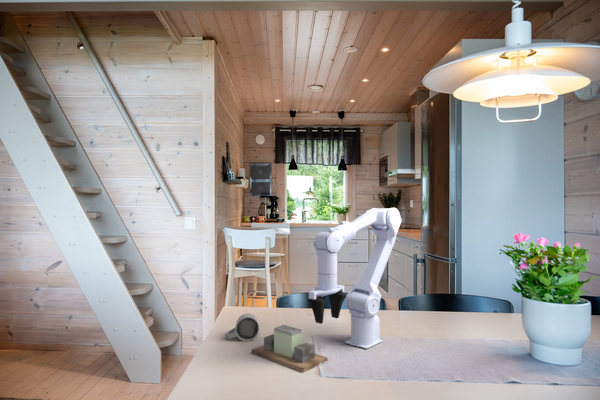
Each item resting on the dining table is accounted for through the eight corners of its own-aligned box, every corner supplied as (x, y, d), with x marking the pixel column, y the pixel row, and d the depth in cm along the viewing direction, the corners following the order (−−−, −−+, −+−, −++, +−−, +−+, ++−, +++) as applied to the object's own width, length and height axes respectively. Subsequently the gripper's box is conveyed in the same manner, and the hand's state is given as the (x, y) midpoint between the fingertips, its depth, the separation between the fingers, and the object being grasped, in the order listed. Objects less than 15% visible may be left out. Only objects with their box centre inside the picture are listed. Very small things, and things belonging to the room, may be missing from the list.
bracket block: (283, 348, 113) (283, 324, 113) (301, 354, 108) (301, 329, 109) (273, 351, 110) (274, 327, 110) (291, 358, 105) (291, 332, 106)
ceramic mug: (258, 332, 131) (257, 310, 131) (259, 340, 123) (259, 316, 123) (226, 335, 129) (226, 311, 129) (225, 343, 121) (225, 318, 121)
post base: (276, 344, 119) (276, 329, 119) (327, 361, 106) (327, 344, 106) (251, 353, 112) (251, 337, 112) (303, 372, 98) (303, 354, 99)
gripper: (331, 269, 121) (331, 313, 121) (300, 274, 110) (300, 322, 110) (350, 271, 116) (350, 317, 116) (319, 277, 106) (319, 327, 105)
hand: (327, 320), depth 113 cm, fingers open, 7 cm apart
